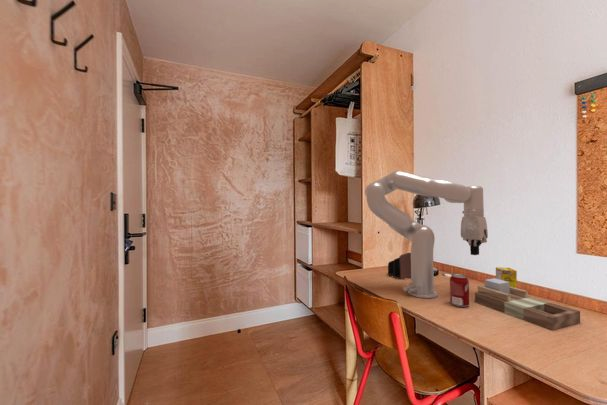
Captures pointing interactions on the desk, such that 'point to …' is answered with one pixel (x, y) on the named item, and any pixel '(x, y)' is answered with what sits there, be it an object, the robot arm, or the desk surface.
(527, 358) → the desk surface
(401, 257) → the letter holder
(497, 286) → the block
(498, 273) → the supplement box
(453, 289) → the soda can
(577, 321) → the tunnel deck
